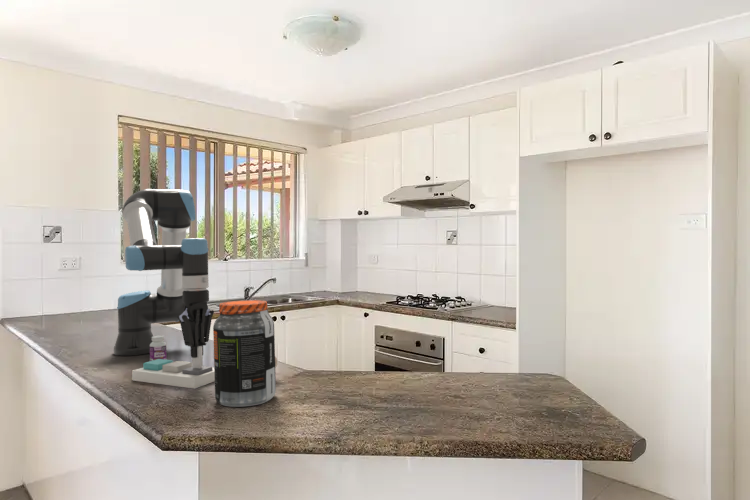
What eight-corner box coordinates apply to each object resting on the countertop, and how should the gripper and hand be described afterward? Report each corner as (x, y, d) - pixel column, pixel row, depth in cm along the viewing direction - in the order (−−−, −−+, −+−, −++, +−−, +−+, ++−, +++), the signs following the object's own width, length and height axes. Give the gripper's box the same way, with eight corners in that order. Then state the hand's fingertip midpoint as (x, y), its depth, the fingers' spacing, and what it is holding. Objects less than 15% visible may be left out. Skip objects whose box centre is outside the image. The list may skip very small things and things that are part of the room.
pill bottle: (155, 366, 175) (154, 338, 175) (147, 364, 178) (146, 336, 178) (169, 363, 179) (169, 335, 179) (161, 361, 182) (160, 334, 182)
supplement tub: (288, 395, 139) (286, 300, 138) (246, 412, 125) (243, 307, 125) (245, 388, 147) (243, 297, 146) (201, 403, 133) (199, 304, 133)
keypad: (162, 371, 168) (162, 362, 168) (223, 378, 158) (222, 368, 158) (132, 380, 157) (131, 370, 157) (194, 388, 147) (194, 378, 147)
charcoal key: (197, 374, 158) (197, 365, 158) (212, 376, 156) (212, 366, 156) (182, 379, 153) (182, 369, 153) (198, 381, 150) (197, 371, 150)
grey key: (177, 370, 162) (177, 360, 162) (192, 371, 159) (192, 362, 159) (162, 374, 156) (162, 365, 156) (177, 376, 154) (177, 366, 154)
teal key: (158, 368, 165) (158, 358, 165) (172, 369, 162) (172, 360, 162) (143, 372, 159) (143, 363, 159) (157, 374, 157) (157, 364, 157)
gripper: (189, 291, 147) (191, 373, 147) (220, 287, 158) (222, 363, 159) (169, 291, 150) (171, 371, 150) (201, 287, 161) (203, 361, 162)
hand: (197, 367), depth 154 cm, fingers closed
